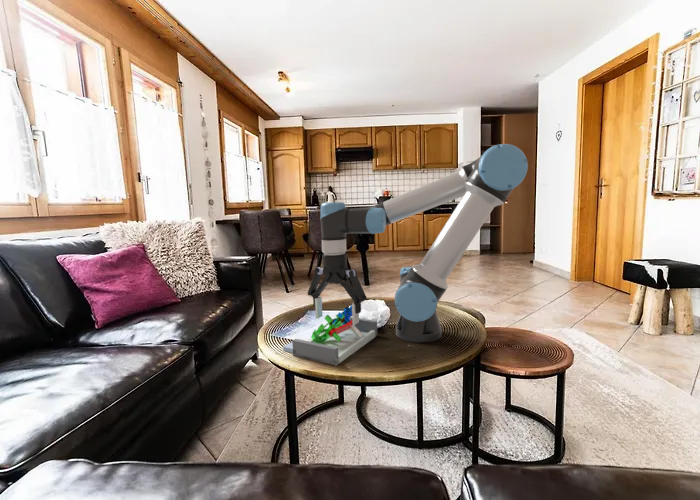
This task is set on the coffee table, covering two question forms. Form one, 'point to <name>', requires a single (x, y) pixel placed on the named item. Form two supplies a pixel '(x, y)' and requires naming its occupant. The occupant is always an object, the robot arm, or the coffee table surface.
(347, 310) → the toy
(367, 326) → the tray
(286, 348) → the wing blank
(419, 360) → the coffee table surface
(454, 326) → the coffee table surface
